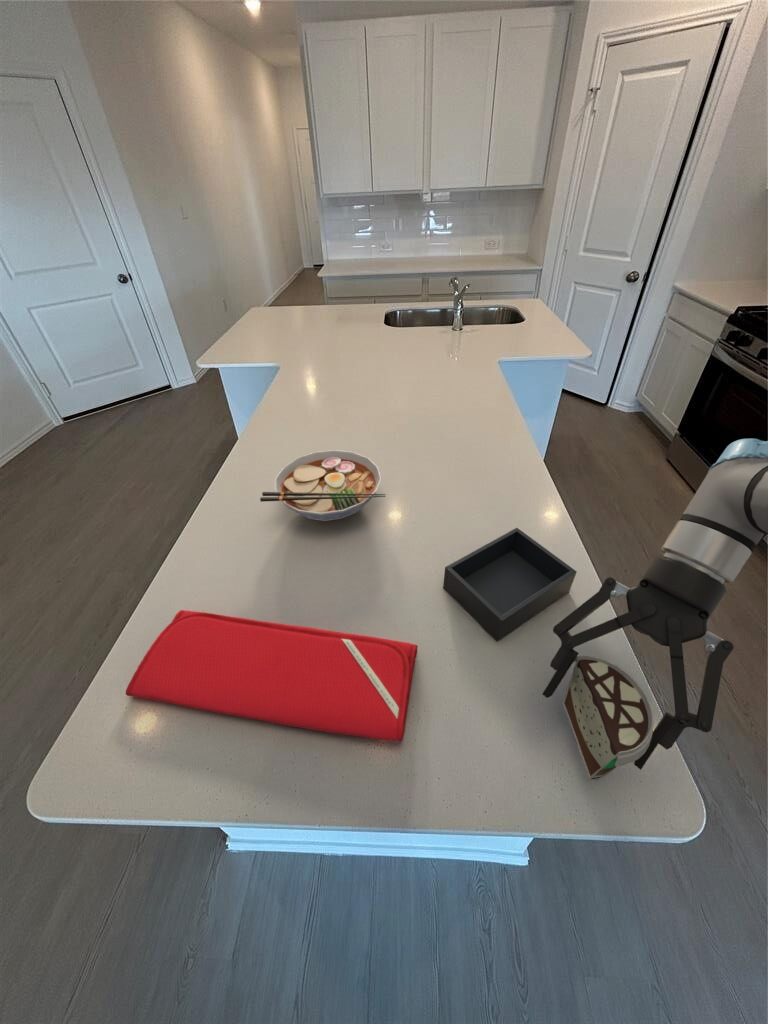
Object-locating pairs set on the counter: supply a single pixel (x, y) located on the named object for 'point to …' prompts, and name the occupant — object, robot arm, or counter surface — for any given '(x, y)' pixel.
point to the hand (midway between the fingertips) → (589, 727)
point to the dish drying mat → (280, 674)
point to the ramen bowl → (326, 484)
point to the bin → (508, 582)
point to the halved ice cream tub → (607, 715)
